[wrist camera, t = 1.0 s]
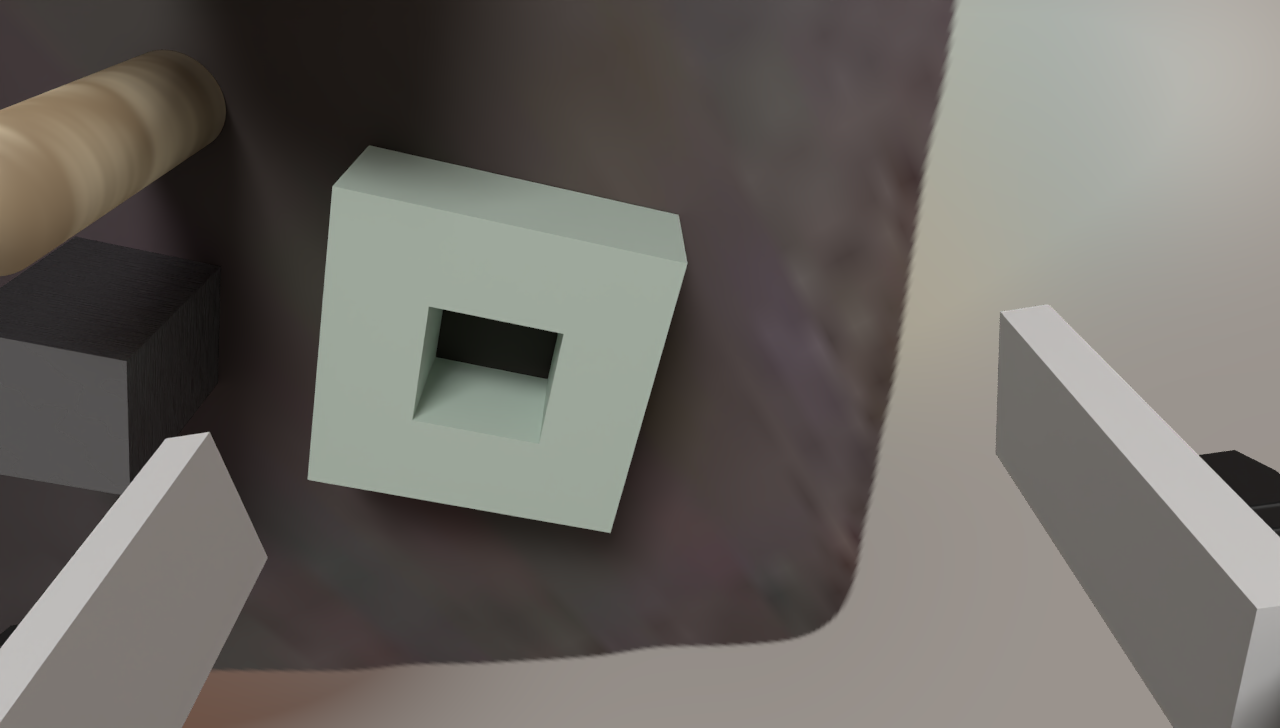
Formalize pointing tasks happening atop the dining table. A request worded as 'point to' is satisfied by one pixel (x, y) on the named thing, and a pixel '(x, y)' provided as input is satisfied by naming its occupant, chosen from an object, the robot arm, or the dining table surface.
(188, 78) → the birch dowel
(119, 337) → the dark grey block
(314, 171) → the dining table surface
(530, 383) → the socket block
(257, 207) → the dining table surface
